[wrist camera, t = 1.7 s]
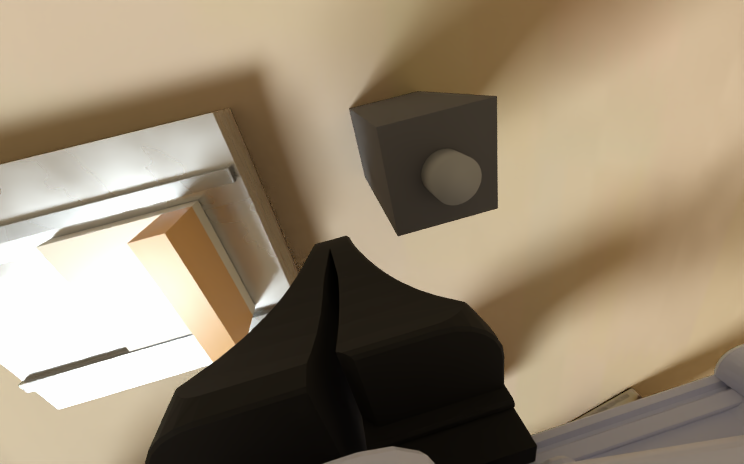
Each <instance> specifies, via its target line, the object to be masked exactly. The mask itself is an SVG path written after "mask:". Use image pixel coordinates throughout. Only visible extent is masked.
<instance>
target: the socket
mask: <svg viewBox="0 0 744 464" xmlns="http://www.w3.org/2000/svg"><path fill="white" fill-rule="evenodd" d="M197 200H198V201H199V203H200V205H201V207H202V209H203V210H204V212H205V214H206V216H207V218H208V220H209V221H210V223H211V225H212V227H213V229H214V231H215V233H216V234H217V236H218V238H219V240H220V242H221V244H222V246H223V247H224V249H225V251H226V253H227V255H228V257H229V258H230V260H231V262H232V264H233V266H234V268H235V270H236V271H237V273H238V275H239V277H240V279H241V281H242V283H243V284H244V286H245V288H246V290H247V292H248V294H249V295H250V297H251V299H252V301H253V303H254V305H255V310H254V314H253V317H252V321H251V325H250V329H249V332H250V331H251V330H252V329H253V328H254V327H255V326H256V325H257V324H258V323H259V322H260V321H261V320H262V319H263V318H264V317H265V316H266V315H267V314H268V313H269V312H270V311H271V310H272V309H273V307H274V306H275V305H276V304H277V303H278V302H279V300H280V299H281V298H282V297H283V295H284V294H285V293H286V291H287V290H288V289H289V287H290V286H291V284H292V283H293V281H294V280H295V278H296V277H297V275H298V274H299V273H298V270H297V268H296V266H295V263H294V261H293V258H292V256H291V254H290V251H289V249H288V246H287V244H286V242H285V239H284V237H283V234H282V232H281V230H280V227H279V225H278V222H277V220H276V218H275V215H274V213H273V210H272V208H271V206H270V203H269V201H268V198H267V196H266V193H265V191H264V189H263V186H262V184H261V181H260V179H259V177H258V174H257V172H256V169H255V167H254V165H253V162H252V160H251V157H250V155H249V153H248V150H247V148H246V145H245V143H244V141H243V138H242V136H241V133H240V131H239V129H238V126H237V124H236V121H235V119H234V116H233V114H232V112H231V109H230V108H227V109H223V110H219V111H215V112H211V113H207V114H203V115H199V116H195V117H191V118H187V119H182V120H178V121H174V122H170V123H166V124H162V125H158V126H154V127H150V128H146V129H142V130H138V131H134V132H129V133H125V134H121V135H117V136H113V137H109V138H105V139H101V140H97V141H93V142H89V143H85V144H81V145H77V146H72V147H68V148H64V149H60V150H56V151H52V152H48V153H44V154H40V155H36V156H32V157H28V158H24V159H19V160H15V161H11V162H7V163H3V164H0V363H1V364H2V365H3V366H4V367H6V368H7V369H8V370H9V371H11V372H12V373H13V374H14V375H16V376H17V377H18V378H19V379H21V380H22V382H21V383H20V384H19V385H18V386H19V387H20V388H21V389H23V390H24V391H25V392H27V393H30V392H33V391H36V392H37V393H38V394H39V395H41V396H42V397H43V398H45V399H46V400H47V401H48V402H50V403H51V404H52V405H53V406H55V407H56V408H57V409H58V410H59V409H62V408H65V407H69V406H72V405H75V404H79V403H82V402H86V401H89V400H92V399H96V398H99V397H103V396H106V395H109V394H113V393H116V392H119V391H123V390H126V389H130V388H133V387H136V386H140V385H143V384H147V383H150V382H153V381H157V380H160V379H163V378H167V377H170V376H174V375H177V374H180V373H184V372H187V371H191V370H194V369H197V368H201V367H204V366H207V365H210V364H212V363H213V362H212V360H211V359H210V358H209V356H208V355H207V353H206V352H205V351H204V349H203V348H202V347H201V345H200V344H199V342H198V341H197V340H196V338H195V337H194V335H193V334H188V335H185V336H181V337H178V338H174V339H171V340H167V341H164V342H160V343H157V344H153V345H150V346H147V347H143V348H140V349H136V350H133V351H129V350H128V349H127V348H126V347H125V346H124V345H123V343H122V342H121V341H120V340H119V339H118V338H117V337H116V336H115V335H114V333H113V332H112V331H111V330H110V329H109V328H108V327H107V326H106V325H105V324H104V322H103V321H102V320H101V319H100V318H99V317H98V316H97V315H96V314H95V313H94V311H93V310H92V309H91V308H90V307H89V306H88V305H87V304H86V303H85V301H84V300H83V299H82V298H81V297H80V296H79V295H78V294H77V293H76V292H75V290H74V289H73V288H72V287H71V286H70V285H69V284H68V283H67V282H66V281H65V279H64V278H63V277H62V276H61V275H60V274H59V273H58V272H57V271H56V269H55V268H54V267H53V266H52V265H51V264H50V263H49V262H48V261H47V260H46V258H45V257H44V256H43V255H42V254H41V253H40V252H39V251H38V250H37V248H36V247H37V246H39V245H41V244H42V243H44V242H46V241H47V240H49V239H52V238H56V237H59V236H63V235H67V234H71V233H75V232H78V231H82V230H86V229H90V228H94V227H98V226H101V225H105V224H109V223H113V222H117V221H120V220H124V219H128V218H132V217H136V216H139V215H143V214H147V213H151V212H155V211H159V210H162V209H166V208H170V207H174V206H178V205H181V204H185V203H189V202H193V201H197Z"/></svg>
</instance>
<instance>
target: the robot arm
mask: <svg viewBox="0 0 744 464" xmlns="http://www.w3.org/2000/svg"><path fill="white" fill-rule="evenodd" d="M514 407H515V403H514V400H513V398H512V396H511V395H510V393H509V391H508V390H507V388H506V387H505V385H504V352H503V347H502V344H501V343H500V341H499V340H498V338H497V337H496V335H495V334H494V332H493V331H492V330H491V328H490V327H489V326H488V325H487V324H486V323H485V322H484V321H483V319H482V318H481V317H480V316H479V315H478V314H477V313H476V312H475V311H474V310H473V309H472V308H471V307H470V306H469V305H468V304H467V303H465V302H462V301H458V300H453V299H449V298H444V297H440V296H436V295H433V294H430V293H427V292H424V291H421V290H418V289H415V288H413V287H411V286H409V285H406V284H404V283H402V282H400V281H398V280H396V279H395V278H393V277H391V276H390V275H388V274H386V273H385V272H383V271H382V270H381V269H379V268H378V267H377V266H375V265H374V264H373V263H372V262H370V261H369V260H368V259H367V258H366V257H365V256H364V255H363V254H362V253H361V252H360V251H359V250H358V249H357V248H356V247H355V246H354V244H353V243H352V241H351V240H350V238H349V237H348V236H343V237H340V238H336V239H333V240H329V241H325V242H322V243H318V244H315V245H314V247H313V249H312V250H311V252H310V254H309V256H308V258H307V260H306V261H305V263H304V265H303V267H302V268H301V270H300V272H299V274H298V275H297V277H296V278H295V280H294V281H293V283H292V284H291V286H290V287H289V289H288V290H287V291H286V293H285V294H284V295H283V297H282V298H281V299H280V300H279V302H278V303H277V304H276V305H275V306H274V307H273V309H272V310H271V311H270V312H269V313H268V314H267V315H266V316H265V317H264V318H263V319H262V320H261V321H260V322H259V323H258V324H257V325H256V326H255V327H254V328H253V329H252V330H251V331H250V332H249V333H248V334H247V335H246V336H245V337H244V338H242V339H241V340H240V341H239V342H238V343H237V344H236V345H234V346H233V347H232V348H231V349H230V350H228V351H227V352H226V353H225V354H223V355H222V356H221V357H220V358H218V359H217V360H216V361H214V362H213V363H212V364H210V365H209V366H208V367H206V368H205V369H204V370H202V371H201V372H199V373H198V374H197V375H195V376H194V377H192V378H191V379H190V380H188V381H187V382H185V383H184V384H183V385H181V386H180V387H178V388H177V389H176V391H175V393H174V395H173V397H172V399H171V401H170V404H169V406H168V408H167V410H166V413H165V415H164V417H163V419H162V421H161V424H160V426H159V428H158V430H157V433H156V435H155V437H154V439H153V442H152V444H151V446H150V448H149V450H148V454H147V458H146V461H145V464H744V344H742V345H739V346H736V347H734V348H732V349H730V350H729V351H727V352H726V353H725V354H724V355H723V356H722V357H721V358H720V359H719V361H718V363H717V364H716V367H715V369H714V375H711V376H708V377H705V378H702V379H699V380H696V381H693V382H690V383H687V384H684V385H681V386H678V387H675V388H672V389H669V390H666V391H663V392H660V393H657V394H654V395H651V396H647V397H644V398H641V399H638V400H635V401H632V402H629V403H626V404H623V405H620V406H617V407H614V408H611V409H608V410H605V411H602V412H599V413H596V414H593V415H590V416H587V417H584V418H581V419H578V420H575V421H572V422H569V423H566V424H563V425H560V426H557V427H554V428H551V429H548V430H545V431H542V432H539V433H536V434H533V435H530V433H529V432H528V430H527V428H526V427H525V425H524V424H523V422H522V420H521V419H520V417H519V415H518V414H517V412H516V411H515V409H514Z"/></svg>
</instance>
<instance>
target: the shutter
mask: <svg viewBox="0 0 744 464" xmlns="http://www.w3.org/2000/svg"><path fill="white" fill-rule="evenodd" d="M36 248H37V250H38V251H39V252H40V253H41V254H42V255H43V256H44V257H45V258H46V260H47V261H48V262H49V263H50V264H51V265H52V266H53V267H54V268H55V269H56V271H57V272H58V273H59V274H60V275H61V276H62V277H63V278H64V279H65V281H66V282H67V283H68V284H69V285H70V286H71V287H72V288H73V289H74V290H75V292H76V293H77V294H78V295H79V296H80V297H81V298H82V299H83V300H84V301H85V303H86V304H87V305H88V306H89V307H90V308H91V309H92V310H93V311H94V313H95V314H96V315H97V316H98V317H99V318H100V319H101V320H102V321H103V322H104V324H105V325H106V326H107V327H108V328H109V329H110V330H111V331H112V332H113V333H114V335H115V336H116V337H117V338H118V339H119V340H120V341H121V342H122V343H123V345H124V346H125V347H126V348H127V349H128V350H129V351H133V350H136V349H140V348H143V347H147V346H150V345H153V344H157V343H160V342H164V341H167V340H171V339H174V338H178V337H181V336H185V335H188V334H193V335H194V337H195V338H196V340H197V341H198V342H199V344H200V345H201V347H202V348H203V349H204V351H205V352H206V353H207V355H208V356H209V358H210V359H211V360H212V362H214V361H216V360H217V359H218V358H220V357H221V356H222V355H223V354H225V353H226V352H227V351H228V350H230V349H231V348H232V347H233V346H234V345H236V344H237V343H238V342H239V341H240V340H241V339H242V338H244V337H245V336H246V335H247V334H248V333H249V329H250V325H251V321H252V317H253V314H254V310H255V305H254V303H253V301H252V299H251V297H250V295H249V294H248V292H247V290H246V288H245V286H244V284H243V283H242V281H241V279H240V277H239V275H238V273H237V271H236V270H235V268H234V266H233V264H232V262H231V260H230V258H229V257H228V255H227V253H226V251H225V249H224V247H223V246H222V244H221V242H220V240H219V238H218V236H217V234H216V233H215V231H214V229H213V227H212V225H211V223H210V221H209V220H208V218H207V216H206V214H205V212H204V210H203V209H202V207H201V205H200V203H199V201H198V200H197V201H193V202H189V203H185V204H181V205H178V206H174V207H170V208H166V209H162V210H159V211H155V212H151V213H147V214H143V215H139V216H136V217H132V218H128V219H124V220H120V221H117V222H113V223H109V224H105V225H101V226H98V227H94V228H90V229H86V230H82V231H78V232H75V233H71V234H67V235H63V236H59V237H56V238H52V239H49V240H47V241H46V242H44V243H42V244H41V245H39V246H37V247H36Z"/></svg>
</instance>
